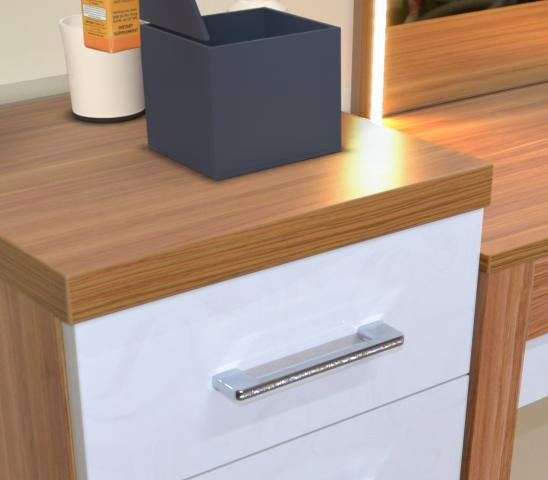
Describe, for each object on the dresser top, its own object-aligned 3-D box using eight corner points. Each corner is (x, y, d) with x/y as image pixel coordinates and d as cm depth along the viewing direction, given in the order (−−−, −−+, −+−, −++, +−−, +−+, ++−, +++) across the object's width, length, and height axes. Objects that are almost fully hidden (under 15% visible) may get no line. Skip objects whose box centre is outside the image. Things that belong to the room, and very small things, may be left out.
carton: (216, 181, 109) (209, 48, 103) (148, 147, 118) (138, 24, 112) (341, 151, 117) (341, 27, 112) (268, 122, 126) (265, 6, 121)
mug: (92, 129, 123) (82, 32, 119) (55, 111, 130) (44, 18, 125) (180, 111, 130) (173, 19, 125) (141, 95, 136) (133, 6, 131)
